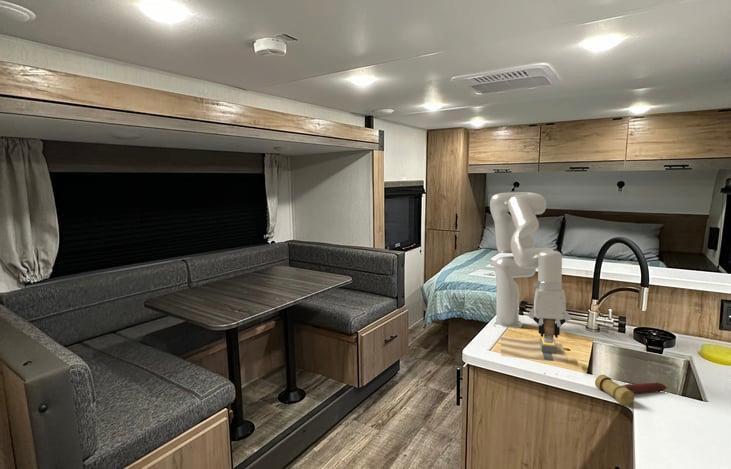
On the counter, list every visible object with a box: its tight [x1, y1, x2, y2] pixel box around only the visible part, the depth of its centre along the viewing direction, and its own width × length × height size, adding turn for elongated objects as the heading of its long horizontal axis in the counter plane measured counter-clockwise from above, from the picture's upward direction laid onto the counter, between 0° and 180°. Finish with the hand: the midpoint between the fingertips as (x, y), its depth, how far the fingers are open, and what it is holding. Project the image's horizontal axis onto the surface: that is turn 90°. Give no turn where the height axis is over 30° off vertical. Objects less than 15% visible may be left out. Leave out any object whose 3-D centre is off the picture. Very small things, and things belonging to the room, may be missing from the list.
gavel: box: [594, 374, 670, 406], centre depth 115 cm, size 21×5×10 cm
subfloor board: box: [500, 336, 569, 364], centre depth 146 cm, size 19×22×2 cm
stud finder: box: [539, 337, 557, 354], centre depth 144 cm, size 7×5×3 cm
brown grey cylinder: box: [542, 319, 556, 343], centre depth 137 cm, size 4×4×9 cm
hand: (548, 335), depth 137 cm, fingers closed on brown grey cylinder, 4 cm apart
